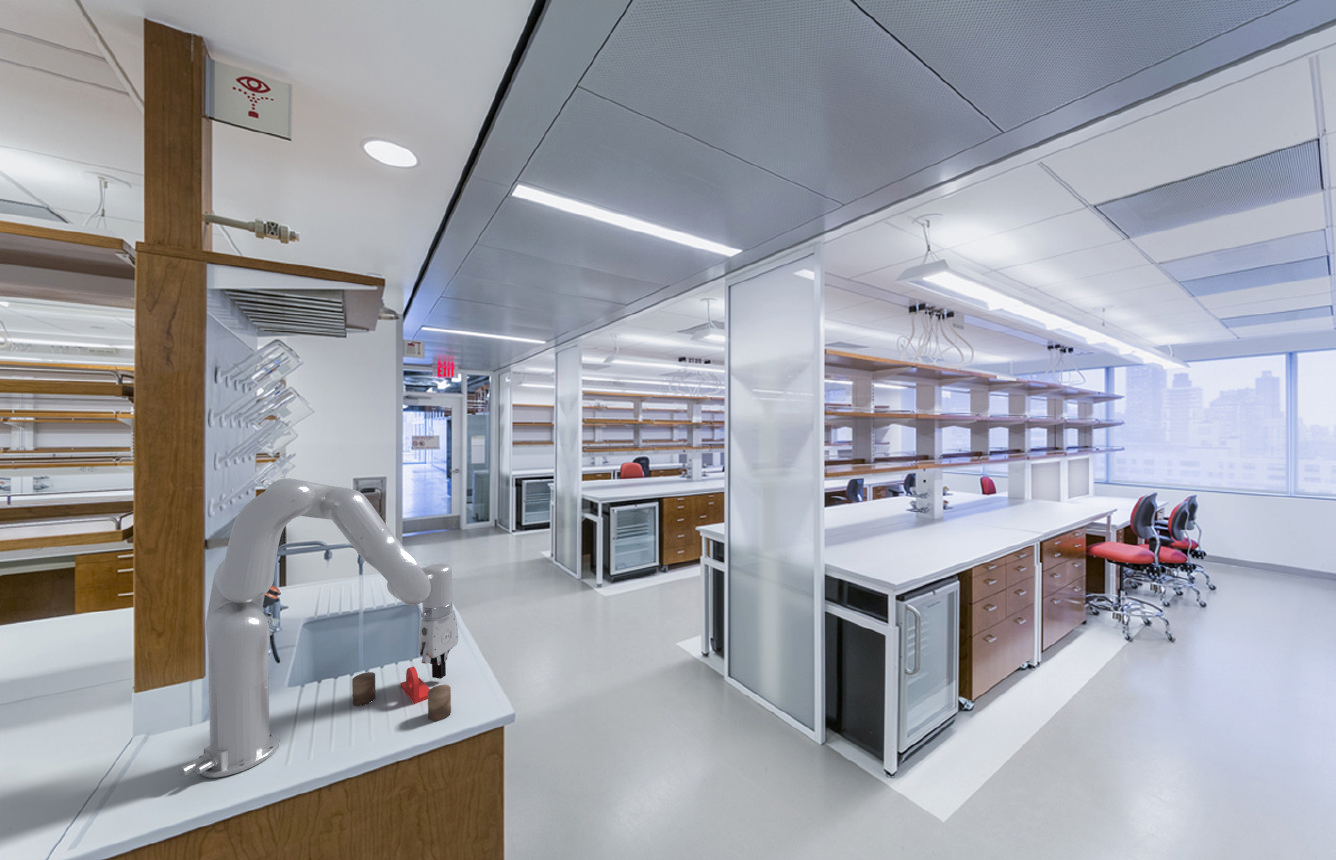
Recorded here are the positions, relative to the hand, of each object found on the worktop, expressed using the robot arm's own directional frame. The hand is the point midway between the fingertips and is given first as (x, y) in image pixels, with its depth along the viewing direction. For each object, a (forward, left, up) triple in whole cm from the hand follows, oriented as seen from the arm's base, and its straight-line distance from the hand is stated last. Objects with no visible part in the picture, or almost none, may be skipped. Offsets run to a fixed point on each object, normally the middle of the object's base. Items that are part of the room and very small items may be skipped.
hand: (438, 676), depth 132 cm
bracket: (-6, +2, -2) cm, 6 cm away
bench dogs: (-13, 0, -1) cm, 13 cm away
